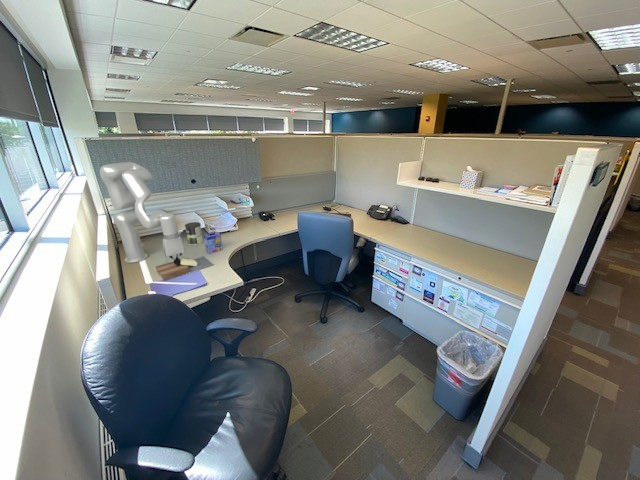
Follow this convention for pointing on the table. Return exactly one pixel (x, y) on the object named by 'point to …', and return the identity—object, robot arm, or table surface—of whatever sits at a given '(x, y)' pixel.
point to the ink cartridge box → (213, 242)
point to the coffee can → (194, 233)
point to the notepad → (188, 262)
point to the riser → (171, 270)
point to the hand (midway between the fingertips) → (177, 264)
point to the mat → (200, 264)
